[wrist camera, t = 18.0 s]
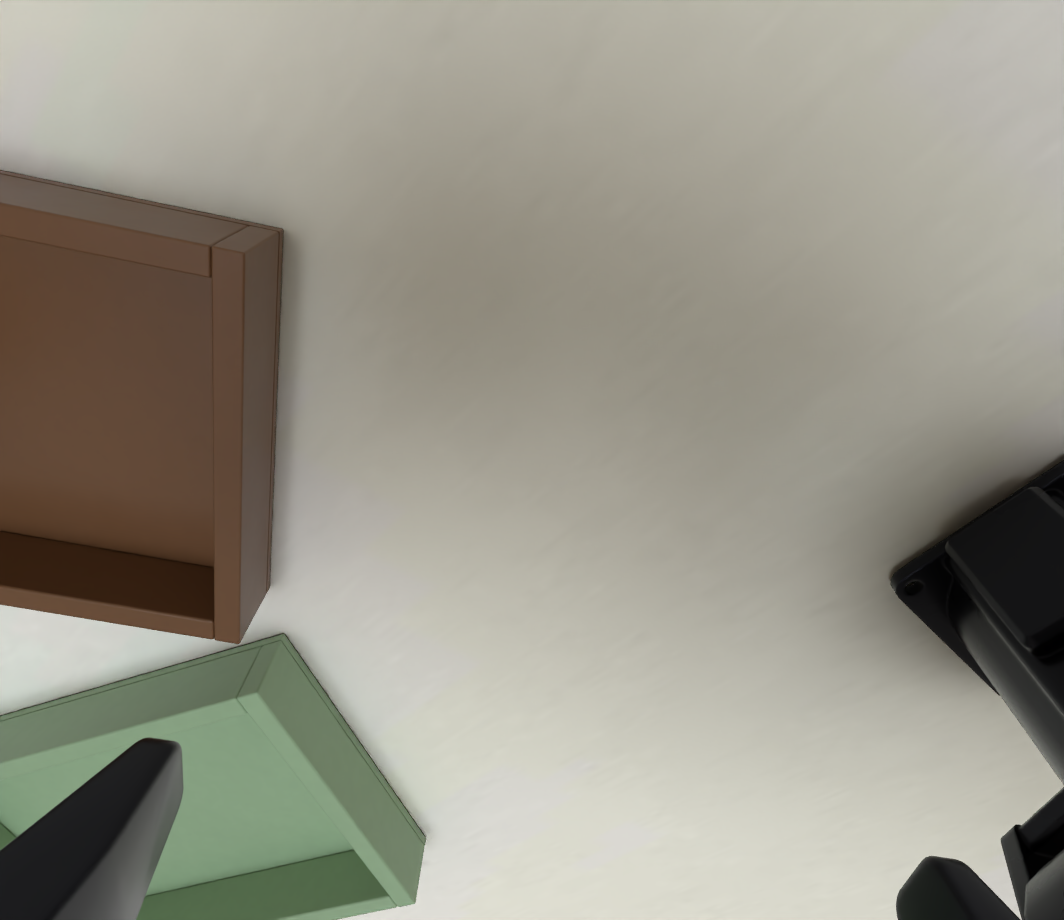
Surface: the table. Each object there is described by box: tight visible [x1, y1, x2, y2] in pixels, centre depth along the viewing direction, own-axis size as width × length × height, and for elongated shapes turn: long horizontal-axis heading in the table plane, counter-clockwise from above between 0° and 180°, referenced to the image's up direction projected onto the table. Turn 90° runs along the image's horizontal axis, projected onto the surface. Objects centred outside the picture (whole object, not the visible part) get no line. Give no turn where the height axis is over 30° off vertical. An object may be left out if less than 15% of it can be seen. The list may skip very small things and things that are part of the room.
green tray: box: [0, 634, 426, 920], centre depth 26 cm, size 15×11×2 cm
